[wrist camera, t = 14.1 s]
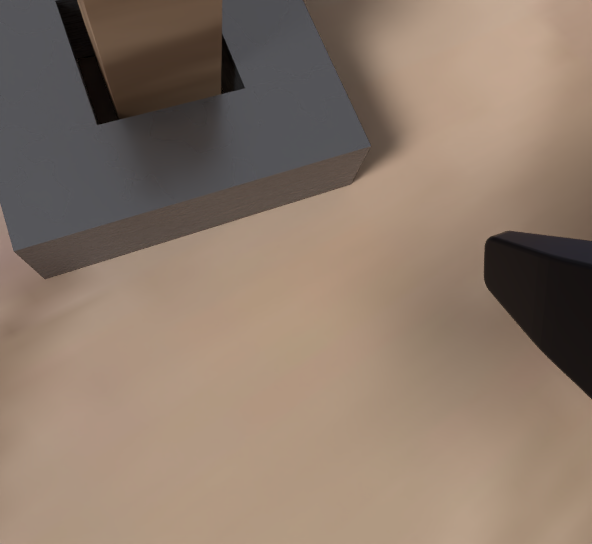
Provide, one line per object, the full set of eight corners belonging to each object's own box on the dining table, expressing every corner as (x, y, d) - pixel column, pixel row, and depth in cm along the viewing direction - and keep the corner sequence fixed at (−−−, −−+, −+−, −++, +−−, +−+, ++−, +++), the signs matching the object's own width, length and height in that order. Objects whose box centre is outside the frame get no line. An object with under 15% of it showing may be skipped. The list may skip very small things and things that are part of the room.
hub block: (350, 184, 25) (371, 146, 22) (44, 279, 22) (13, 251, 18) (247, -45, 28) (251, -109, 25) (-34, 7, 25) (-73, -59, 21)
